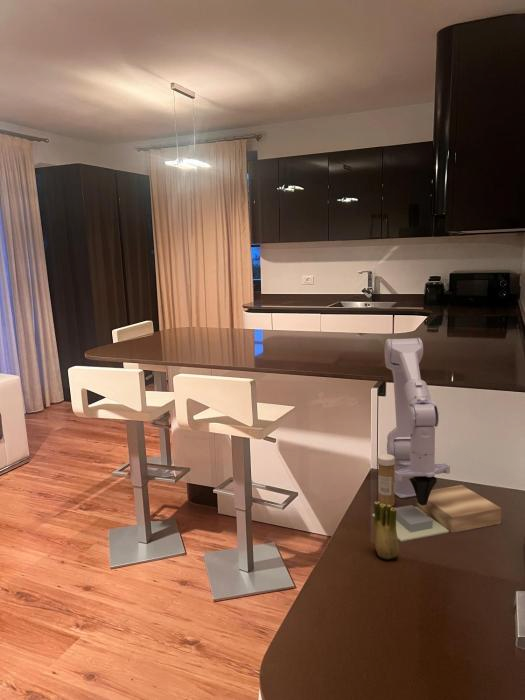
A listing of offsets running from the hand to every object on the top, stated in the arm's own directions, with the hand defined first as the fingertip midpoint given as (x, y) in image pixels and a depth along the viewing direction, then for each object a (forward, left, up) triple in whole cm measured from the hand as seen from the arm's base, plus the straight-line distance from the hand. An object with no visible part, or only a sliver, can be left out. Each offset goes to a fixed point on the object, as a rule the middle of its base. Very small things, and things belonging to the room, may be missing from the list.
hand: (422, 503), depth 126 cm
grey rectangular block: (0, -3, -2) cm, 4 cm away
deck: (0, +10, -5) cm, 11 cm away
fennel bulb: (+11, -16, -5) cm, 20 cm away
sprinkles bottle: (-12, -3, -5) cm, 13 cm away
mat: (0, -4, -5) cm, 6 cm away
